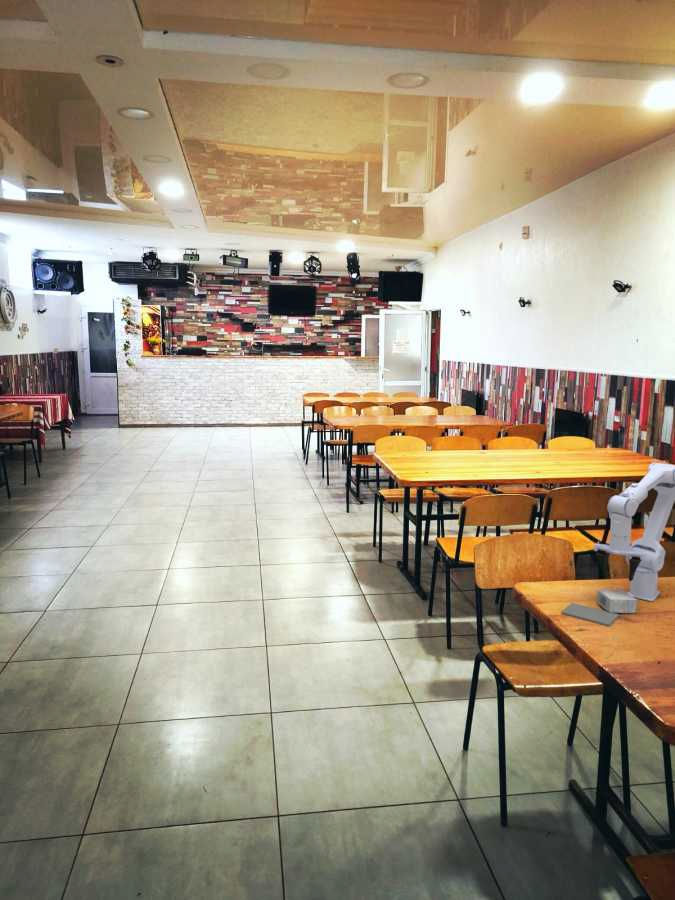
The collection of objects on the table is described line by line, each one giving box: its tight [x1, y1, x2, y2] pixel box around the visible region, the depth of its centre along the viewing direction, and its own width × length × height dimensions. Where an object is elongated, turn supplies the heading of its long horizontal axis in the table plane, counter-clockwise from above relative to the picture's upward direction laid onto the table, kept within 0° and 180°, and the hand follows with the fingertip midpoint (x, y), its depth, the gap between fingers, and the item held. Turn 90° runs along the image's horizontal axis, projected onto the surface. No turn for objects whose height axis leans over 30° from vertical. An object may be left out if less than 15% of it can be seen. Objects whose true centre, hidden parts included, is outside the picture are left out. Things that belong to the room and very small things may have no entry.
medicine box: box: [596, 589, 638, 614], centre depth 184 cm, size 8×4×9 cm
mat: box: [560, 602, 620, 627], centre depth 180 cm, size 9×14×1 cm, turn 49°
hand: (617, 577), depth 185 cm, fingers open, 7 cm apart
